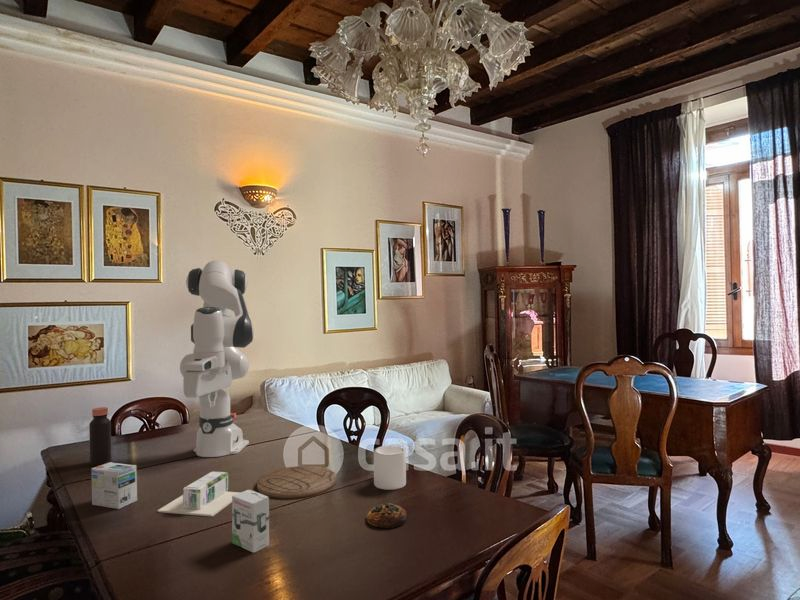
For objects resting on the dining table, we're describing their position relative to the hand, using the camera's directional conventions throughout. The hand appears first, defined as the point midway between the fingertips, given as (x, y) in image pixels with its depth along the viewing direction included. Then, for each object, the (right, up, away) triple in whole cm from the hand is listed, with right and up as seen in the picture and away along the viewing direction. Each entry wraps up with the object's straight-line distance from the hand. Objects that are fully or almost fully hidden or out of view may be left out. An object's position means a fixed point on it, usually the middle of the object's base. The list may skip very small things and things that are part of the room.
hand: (209, 407), depth 152 cm
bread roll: (+54, -27, -17) cm, 63 cm away
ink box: (+21, -27, -30) cm, 46 cm away
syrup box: (+2, -24, +4) cm, 24 cm away
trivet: (+24, -27, +10) cm, 38 cm away
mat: (-1, -27, -5) cm, 27 cm away
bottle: (-53, -28, +33) cm, 68 cm away
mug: (+54, -27, +10) cm, 61 cm away
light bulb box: (-27, -28, -4) cm, 38 cm away
